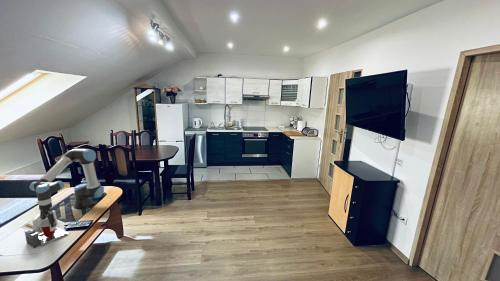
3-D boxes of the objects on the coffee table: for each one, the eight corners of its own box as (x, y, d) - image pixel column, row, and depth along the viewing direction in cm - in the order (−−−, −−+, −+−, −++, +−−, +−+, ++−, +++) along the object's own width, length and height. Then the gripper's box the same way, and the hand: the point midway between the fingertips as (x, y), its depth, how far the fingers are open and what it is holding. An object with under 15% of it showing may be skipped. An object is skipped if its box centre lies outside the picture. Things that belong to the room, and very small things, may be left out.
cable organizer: (49, 230, 180) (47, 217, 178) (33, 232, 176) (31, 220, 174) (57, 220, 194) (55, 209, 192) (42, 222, 190) (40, 211, 188)
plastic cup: (40, 241, 164) (37, 227, 162) (41, 234, 172) (39, 221, 170) (58, 235, 171) (56, 222, 169) (59, 229, 179) (57, 216, 177)
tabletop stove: (58, 228, 183) (56, 215, 181) (68, 234, 176) (67, 221, 174) (23, 242, 164) (21, 228, 161) (34, 250, 157) (32, 235, 155)
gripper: (31, 202, 167) (35, 226, 172) (46, 209, 158) (50, 235, 162) (44, 198, 174) (47, 222, 178) (58, 205, 165) (62, 230, 169)
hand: (49, 228), depth 170 cm, fingers closed on plastic cup, 11 cm apart
